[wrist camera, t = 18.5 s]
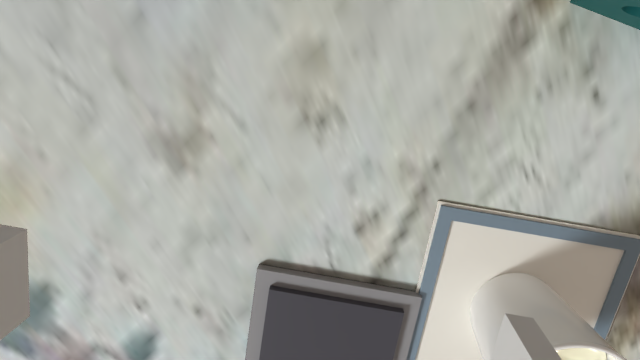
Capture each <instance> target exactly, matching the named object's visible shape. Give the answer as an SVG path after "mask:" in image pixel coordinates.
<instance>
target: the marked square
mask: <svg viewBox="0 0 640 360" xmlns="http://www.w3.org/2000/svg"><path fill="white" fill-rule="evenodd" d="M639 256H640V235H636V234H630V233H624V232H618V231H612V230H606V229H601V228H595V227H589V226H583V225H577V224H572V223H566V222H560V221H554V220H548V219H542V218H537V217H531V216H525V215H519V214H513V213H507V212H502V211H496V210H490V209H484V208H478V207H473V206H467V205H461V204H455V203H449V202H443V201H438V203H437V207H436V211H435V215H434V219H433V223H432V227H431V231H430V235H429V239H428V243H427V247H426V251H425V255H424V259H423V263H422V267H421V271H420V275H419V279H418V283H417V287H416V291H415V292H416V293H419V295H421V296H422V300H421V304H420V308H419V312H418V316H417V320H416V324H415V328H414V332H413V336H412V339H411V343H410V347H409V351H408V355H407V359H406V360H482V357H481V354H480V351H479V348H478V345H477V342H476V339H475V336H474V332H473V329H472V326H471V322H470V305H471V302H472V299H473V297H474V295H475V294H476V292H477V291H478V290H479V289H480V287H481V286H483V285H484V284H485V283H486V282H488V281H489V280H491V279H493V278H495V277H497V276H500V275H503V274H507V273H526V274H530V275H533V276H536V277H538V278H540V279H541V280H543V281H544V282H546V283H547V284H548V285H549V286H551V287H552V288H553V289H554V290H555V291H556V292H557V293H558V294H559V295H560V296H561V297H562V298H563V299H564V300H565V301H566V302H567V303H568V304H569V305H570V306H571V307H572V308H573V309H574V310H575V311H576V312H577V313H578V314H579V315H580V316H581V317H582V318H583V319H584V320H585V321H586V322H587V323H588V324H589V325H590V326H591V327H592V328H593V329H594V330H595V331H596V332H597V333H598V334H599V335H600V336H601V337H602V338H603V339H604V340H605V341H606V338H607V336H608V333H609V331H610V328H611V326H612V323H613V321H614V318H615V316H616V313H617V311H618V308H619V306H620V303H621V301H622V298H623V296H624V293H625V291H626V289H627V286H628V284H629V281H630V279H631V276H632V274H633V271H634V269H635V266H636V264H637V261H638V259H639Z"/></svg>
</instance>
